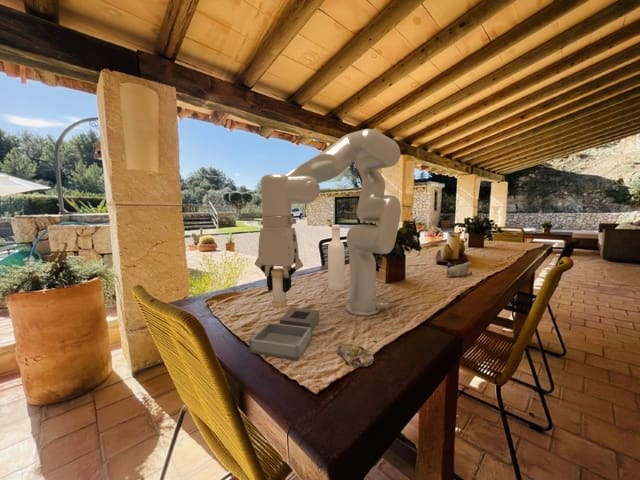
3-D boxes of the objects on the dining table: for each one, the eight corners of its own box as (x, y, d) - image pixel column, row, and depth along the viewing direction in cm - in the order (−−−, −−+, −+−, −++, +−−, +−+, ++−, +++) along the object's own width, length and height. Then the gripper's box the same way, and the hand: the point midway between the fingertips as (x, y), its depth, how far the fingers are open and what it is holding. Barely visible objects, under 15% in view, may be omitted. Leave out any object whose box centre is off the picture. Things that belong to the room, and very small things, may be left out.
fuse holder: (319, 320, 88) (319, 310, 87) (309, 334, 78) (309, 323, 78) (292, 317, 91) (291, 307, 90) (279, 330, 81) (279, 319, 81)
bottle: (324, 289, 120) (323, 225, 116) (333, 284, 127) (332, 224, 123) (340, 292, 116) (339, 225, 112) (347, 287, 123) (347, 224, 119)
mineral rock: (382, 349, 66) (365, 354, 60) (380, 367, 65) (363, 373, 59) (348, 337, 73) (330, 340, 67) (346, 352, 72) (327, 357, 67)
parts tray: (312, 338, 75) (311, 327, 75) (298, 360, 65) (297, 347, 64) (268, 333, 79) (268, 322, 79) (249, 352, 69) (248, 340, 68)
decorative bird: (443, 277, 138) (443, 263, 137) (465, 273, 143) (466, 260, 142) (451, 279, 133) (452, 265, 132) (474, 276, 138) (475, 262, 137)
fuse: (289, 303, 72) (288, 268, 71) (283, 309, 68) (282, 272, 67) (276, 302, 73) (275, 267, 72) (269, 307, 69) (268, 271, 68)
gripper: (311, 222, 69) (312, 288, 71) (256, 222, 74) (259, 284, 76) (301, 224, 62) (303, 297, 64) (241, 223, 67) (244, 292, 69)
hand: (279, 289), depth 70 cm, fingers closed on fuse, 3 cm apart
